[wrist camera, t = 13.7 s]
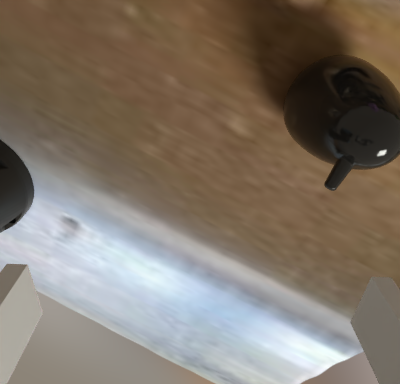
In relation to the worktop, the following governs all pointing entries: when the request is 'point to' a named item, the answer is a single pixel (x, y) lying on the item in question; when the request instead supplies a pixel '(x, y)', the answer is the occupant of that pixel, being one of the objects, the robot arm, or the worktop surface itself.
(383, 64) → the worktop surface
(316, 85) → the pump dispenser
